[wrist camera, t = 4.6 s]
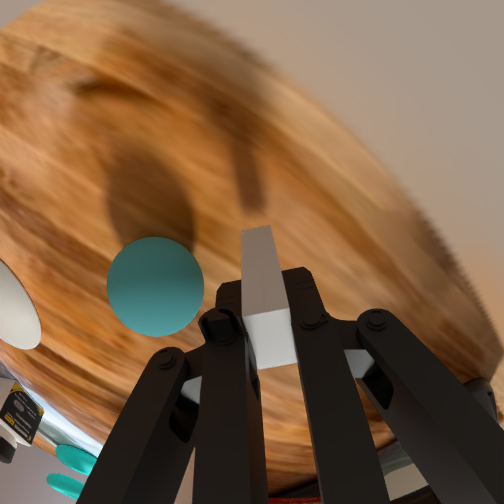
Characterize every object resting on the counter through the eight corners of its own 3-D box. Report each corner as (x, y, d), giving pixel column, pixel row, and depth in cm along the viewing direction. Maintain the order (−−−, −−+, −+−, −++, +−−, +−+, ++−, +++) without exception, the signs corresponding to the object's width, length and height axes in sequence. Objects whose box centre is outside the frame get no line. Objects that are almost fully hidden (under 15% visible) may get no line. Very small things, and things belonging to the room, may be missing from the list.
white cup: (147, 435, 29) (136, 502, 20) (208, 443, 30) (205, 512, 21) (156, 456, 33) (148, 512, 24) (208, 462, 34) (206, 520, 25)
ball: (192, 211, 16) (172, 257, 11) (219, 289, 19) (213, 350, 14) (112, 233, 17) (72, 281, 12) (145, 303, 19) (122, 360, 14)
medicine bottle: (45, 410, 29) (22, 474, 18) (19, 404, 29) (-4, 460, 18) (16, 379, 25) (-15, 446, 15) (-7, 374, 26) (-37, 432, 15)
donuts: (53, 490, 29) (38, 478, 25) (63, 453, 38) (52, 435, 34) (99, 508, 31) (90, 501, 26) (107, 469, 40) (101, 455, 35)
